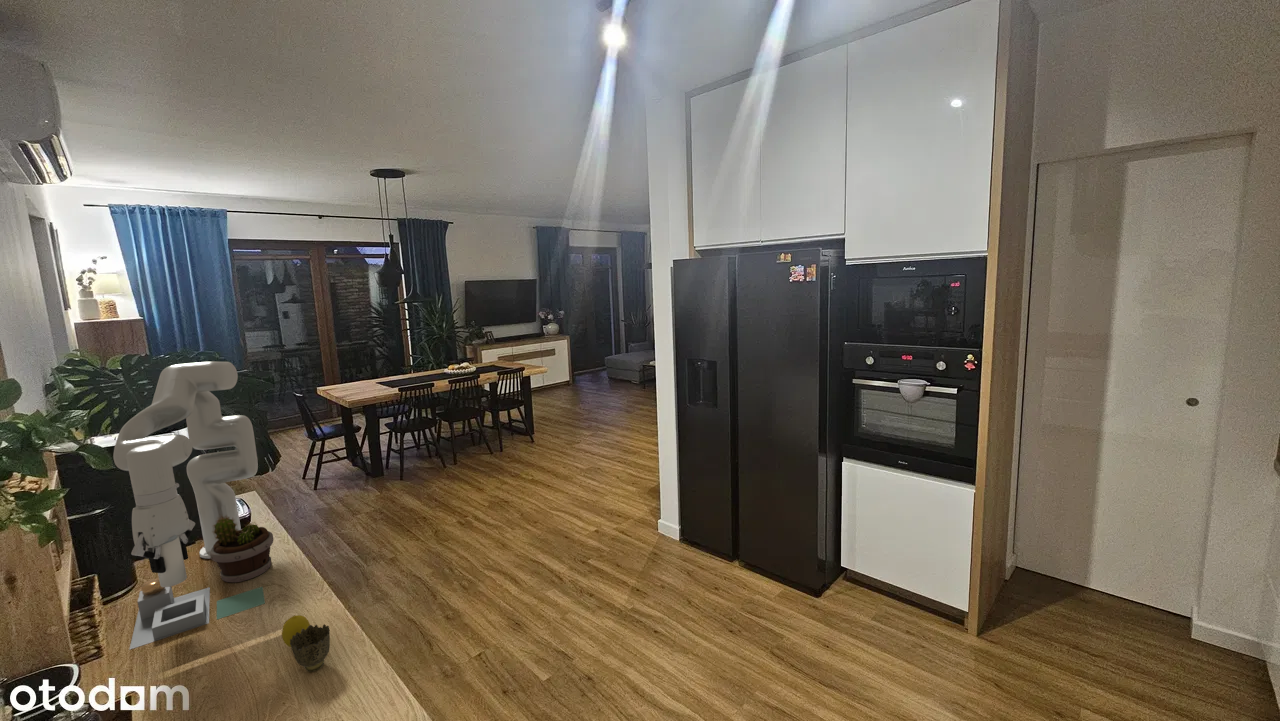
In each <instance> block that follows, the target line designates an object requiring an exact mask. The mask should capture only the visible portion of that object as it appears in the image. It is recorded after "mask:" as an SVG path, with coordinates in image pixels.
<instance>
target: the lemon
mask: <svg viewBox="0 0 1280 721" xmlns="http://www.w3.org/2000/svg"><path fill="white" fill-rule="evenodd" d="M310 625H311V623H310V622H309V620H308V619H307V617H306V616H304V615H301V614H298V615H296V614H295V615H292V616H290V617H289V618H288V619H287V620H286V621H285V623H284V624H283V626H282V632H281V637H282V638H281V639H282V641H283V643H284V644H285V645H286V646H287V647H288V648H291V645H290V643H291V642H290V639H292V637H293V635H294V636H295V635H296V633H297V632H298V633H300V634H301V631H302V629H304V630H306V629H307V628H308V626H310Z"/></svg>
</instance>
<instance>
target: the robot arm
mask: <svg viewBox="0 0 1280 721" xmlns="http://www.w3.org/2000/svg"><path fill="white" fill-rule="evenodd" d="M238 376H239V375H238V371H237V369H236V366H235V365H234V364H233V363H232V362H230V361H201V362H200V361H199V362H187V363H178V364H177V363H176V364H172V365H169V366H166V367H165V368H164V369H162V371H161V372H160V374H159V378H158V381H157V385H156V388H155V392H154V394H153V398H152V402H151V404H150V405H149V406H147V407H145V408H144V409H142V410H141V411H139V412H138V413H136V415H134V416H133V417H131V418H130V419H129V420H128V421H127V422H126V423H125V424H124V425H123V426H122V427H121V429H120V431H119V433H118V435H117V439H116V442H115V445H114V448H113V456H112V458H113V461H114V464H115V466H116V467H117V468H118V469H120V470H122V471H124V472H125V471H126V472H128V473H129V477H130V479H129V480H130V483H131V489H132V493H133V497H134V501H135V502H134V503H135V507H133V508H132V511H131V530H132V538H133V539H132V540H133V543H134V546H133V548H132V550H131V553H130V554H131V555H132V556H136V557H137V556H138V557H142V558H145V559H147V560H148V561H149V567H150V570H151V573H154V574H158V573H164V572H165V571H166V568H165V563H164V558H163V557H160V552H161V544H163V543H165V542H167V541H168V539H169V538H170V537H172V536H174V535H177V536H179V539H180V544H181V549H182V554H183V559H184V561H186V560H188V559H189V555H188V549H187V543H188V542H189V536H190V535H191V531H193V528H194V527H195V526H196V522H195V521H193V520H191V519H189V514H188V511H187V508H186V505H185V503H184V500H183V499H182V498H183V497H181V495H180V494H178V490H177V489H178V488H180V484H179V483H178V482H176V479H175V474H174V469H173V467H176V466H178V465H180V464H183V463H184V462H185V461H186V460H188V459H189V457H190V455H191V454H192V452H193V450H199V451H202V450H204V451H205V450H213V449H221V448H228V447H235V449H234V450H233V449H232V450H226V451H224V450H223V451H218V452H217V451H216V452H209V453H203V454H200V455H198V456H194V457H193V458H191V459H189V461H188V463H187V464H186V474H187V478H188V479H189V482H190V485H191V486H192V490H193V492H194V496H195V501H196V506H197V511H198V516H199V523H200V527H201V534H202V539H203V543H204V546H202V548H200V549H199V557H200V558H202V559H210V560H212V559H211V557H210V551H211V549H212V547H213V545H214V544H215V543H216V542H217V541H218V538H215V537H217V535H216V533H215V534H214V535H216V536H214V535H213V533H214V532H213V531H215V528H214V525H216V524H217V522H218V519H219V520H220V517H221V515H222V517H226V518H228V517H230V516H231V517H230V519H231V520H232V518H233V520H234V521H235V522H234V523H237V525H238V526H237V525H236V526H235V527H236V529H237V531H238V530H242V528H241V522H240V516H239V509H238V504H237V498H236V494H235V491H234V490H233V488H232V487H231V486H230V485H229V484H227V483H229V482H232V481H233V482H234V481H240V480H241V481H242V480H245V479H249V478H252V477H255V475H256V474H257V472H258V468H259V465H258V462H259V461H258V454H257V453H258V452H257V447H256V440H255V433H254V428H253V424H252V421H251V420H250V418H249V417H248V416H246V415H245V414H243V415H242V414H241V415H240V414H237V415H234V414H233V415H227V416H223V415H222V410H221V403H220V402H221V401H220V400H219V399H218V397H217V396H215V394H213V393H212V392H214V391H225V390H231V389H233V388H234V387H235V386H236V384H237V382H238ZM185 419H186V421H185V422H186V428H187V434H188V436H186V435H183V434H167V435H160V436H158V435H157V436H150V435H151V434H153V433H155V432H157V431H160V430H162V429H164V428H167V427H170V426H172V425H175V424H176V423H179V422H182V421H183V420H185ZM225 515H227V516H225ZM217 517H218V518H217ZM222 517H221V518H222ZM238 523H239V524H238ZM212 525H213V526H212ZM212 528H214V530H213V529H212ZM214 538H215V539H216V540H215V539H214ZM144 548H145V550H144ZM153 548H154V553H153Z"/></svg>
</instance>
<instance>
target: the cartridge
mask: <svg viewBox="0 0 1280 721" xmlns="http://www.w3.org/2000/svg"><path fill="white" fill-rule="evenodd" d="M152 552H153V553H154V548H153V550H152ZM160 557H163V558H164V563H165V568H166V571H165V572H164V573H157V576H158V577H157V578H159V581H160V586H161V587H170V586H171V587H173V586H177V585H179V584H181V583H183V582H184V581H186V580H187V579H188V575H187V572H186V571H187V570H186V565H185V560H184V559H183V554H182V549H181V544H180V539H179V536H177V535H174V536H172V537H170V538H169V539H168V541H167V542H165V543H163V544H161V552H160Z"/></svg>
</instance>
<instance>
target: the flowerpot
mask: <svg viewBox="0 0 1280 721" xmlns="http://www.w3.org/2000/svg"><path fill="white" fill-rule="evenodd" d="M225 516H227V515H225ZM221 517H222V515H221ZM221 517H220V520H219V519H218V522H217V524H216V525H214V528H215V531H213V532H214V533H213V535H214V534H215V533H216V535H217V537H215V538H218V541H217V542H216V543H215V544H214V545H213V547H212V549H211V551H210V557H211V559H210V560H211V561H213V562H214V563H216V564H217V566H218V568H219V570H220V573H219V574H220V579H221V580H222V581H223V582H226V583H240V582H245V581H248V580H252V579H254V578H256V577H258V576H259V577H260V575H262V574H264V573H266V571H268V570H269V569H270V567H271V566H272V557H271V556H270V555H271V546H272V545H273V543H274V534H273V533H272V531H269V530H267V528H266V527H263V526H259V525H258V524H257V522H251V521H249V522H247V521H246V524H244V527H243V528H241V530H238V531H237V529H236V527H235V526H236V525H237V523H234V522H235V521H234V520H233V518H232V520H231V519H230V517H231V516H230V517H228V518H226V517H222V518H221ZM217 518H218V517H217ZM250 522H251V523H250ZM238 524H239V523H238ZM212 526H213V525H212ZM237 526H238V525H237ZM214 528H212V529H213V530H214ZM216 535H214V536H216ZM215 538H214V539H215ZM215 540H216V539H215Z"/></svg>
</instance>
